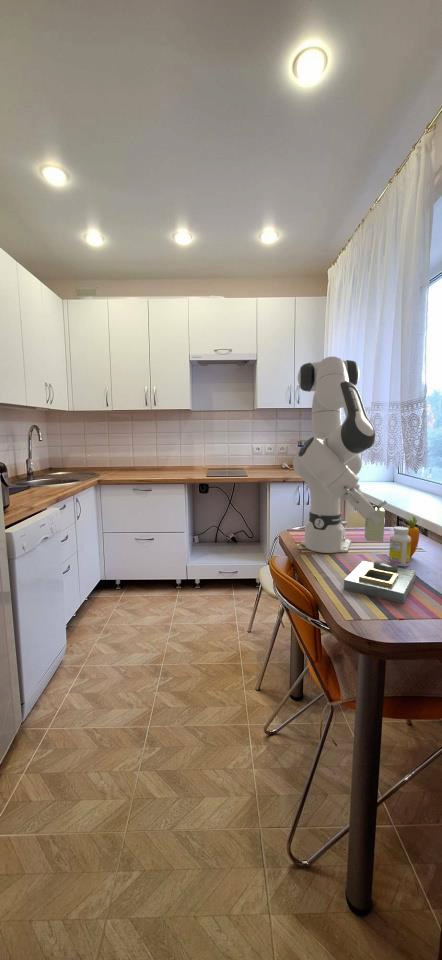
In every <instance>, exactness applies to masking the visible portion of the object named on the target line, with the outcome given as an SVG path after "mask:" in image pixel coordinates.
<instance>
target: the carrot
mask: <svg viewBox="0 0 442 960" xmlns="http://www.w3.org/2000/svg"><path fill="white" fill-rule="evenodd" d="M405 521H406V522H407V524H408V526H406V528H408V529H409V532H408V535H409V536H410V537H411V551H410V558H412V557H413V556H414V554H415V552H416V551H417V548H418V546H419V545H418V544H419V541H420V534H421V533H420V532H421V531H420V529H419V528H418V527H416V523H417V522H418V520H417V517H416V516H412V518H411V519H407V518H406V519H405Z"/></svg>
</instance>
